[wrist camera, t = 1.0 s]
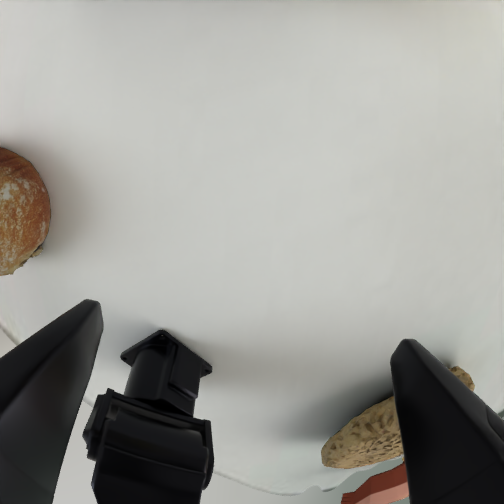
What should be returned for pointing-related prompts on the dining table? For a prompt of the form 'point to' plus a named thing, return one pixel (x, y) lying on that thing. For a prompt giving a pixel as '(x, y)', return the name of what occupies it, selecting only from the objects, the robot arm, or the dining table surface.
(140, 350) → the robot arm
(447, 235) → the dining table surface
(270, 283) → the dining table surface
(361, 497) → the decorative bird
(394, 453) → the sponge
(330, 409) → the dining table surface
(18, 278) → the dining table surface
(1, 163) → the bread roll
